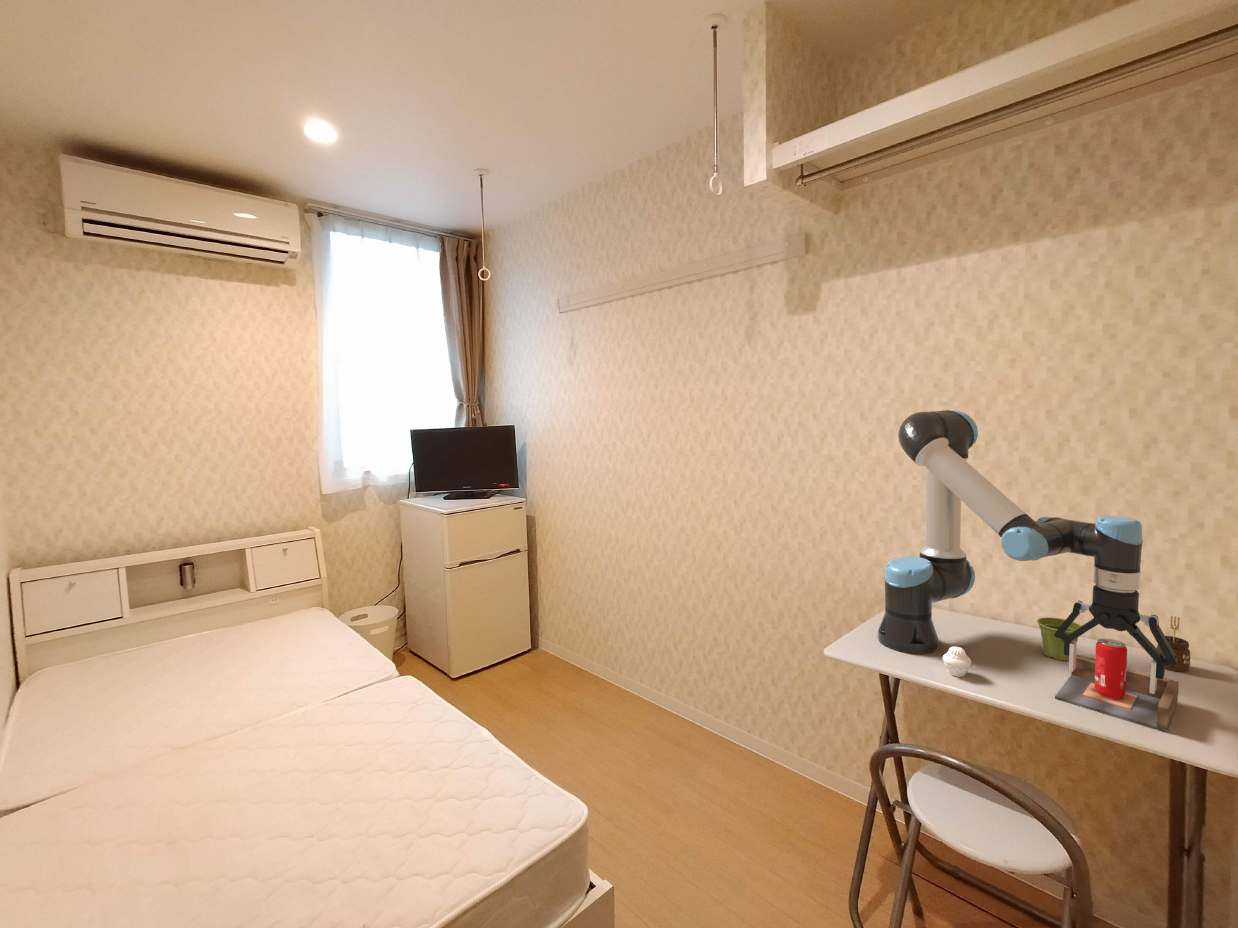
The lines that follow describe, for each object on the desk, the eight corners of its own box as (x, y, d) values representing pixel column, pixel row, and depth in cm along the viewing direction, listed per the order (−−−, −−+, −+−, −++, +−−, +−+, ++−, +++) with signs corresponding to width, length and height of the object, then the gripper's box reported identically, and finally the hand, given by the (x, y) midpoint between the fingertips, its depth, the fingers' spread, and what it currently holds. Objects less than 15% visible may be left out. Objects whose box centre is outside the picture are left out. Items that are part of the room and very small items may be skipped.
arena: (1054, 698, 124) (1055, 677, 124) (1072, 674, 134) (1073, 655, 134) (1166, 732, 110) (1168, 708, 110) (1177, 703, 120) (1178, 681, 120)
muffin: (955, 681, 133) (956, 653, 133) (936, 669, 139) (936, 643, 139) (977, 677, 135) (978, 650, 134) (957, 666, 141) (958, 640, 140)
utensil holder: (1155, 667, 136) (1158, 620, 135) (1155, 658, 141) (1158, 613, 140) (1189, 675, 132) (1193, 626, 131) (1188, 665, 137) (1192, 619, 135)
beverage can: (1095, 686, 127) (1097, 636, 126) (1126, 694, 123) (1128, 642, 122) (1092, 694, 123) (1094, 642, 122) (1124, 702, 120) (1126, 649, 119)
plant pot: (1090, 664, 139) (1092, 631, 138) (1047, 662, 141) (1049, 630, 140) (1068, 648, 148) (1069, 617, 147) (1028, 647, 150) (1029, 616, 149)
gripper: (1041, 579, 128) (1037, 666, 130) (1195, 606, 109) (1188, 708, 111) (1050, 572, 133) (1046, 656, 135) (1199, 596, 114) (1193, 694, 116)
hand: (1110, 680), depth 123 cm, fingers open, 13 cm apart
